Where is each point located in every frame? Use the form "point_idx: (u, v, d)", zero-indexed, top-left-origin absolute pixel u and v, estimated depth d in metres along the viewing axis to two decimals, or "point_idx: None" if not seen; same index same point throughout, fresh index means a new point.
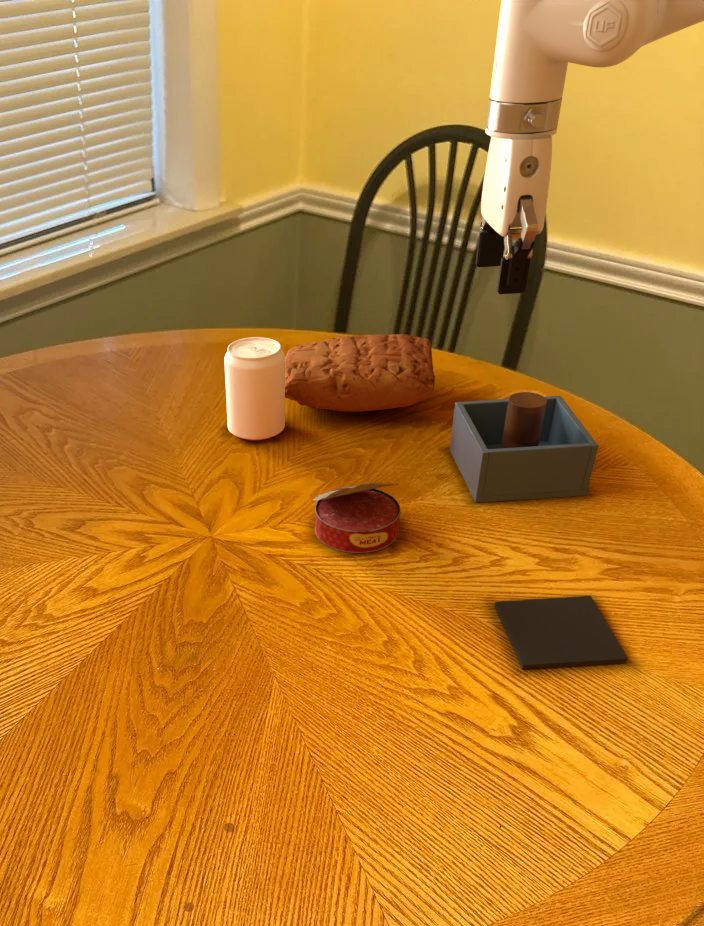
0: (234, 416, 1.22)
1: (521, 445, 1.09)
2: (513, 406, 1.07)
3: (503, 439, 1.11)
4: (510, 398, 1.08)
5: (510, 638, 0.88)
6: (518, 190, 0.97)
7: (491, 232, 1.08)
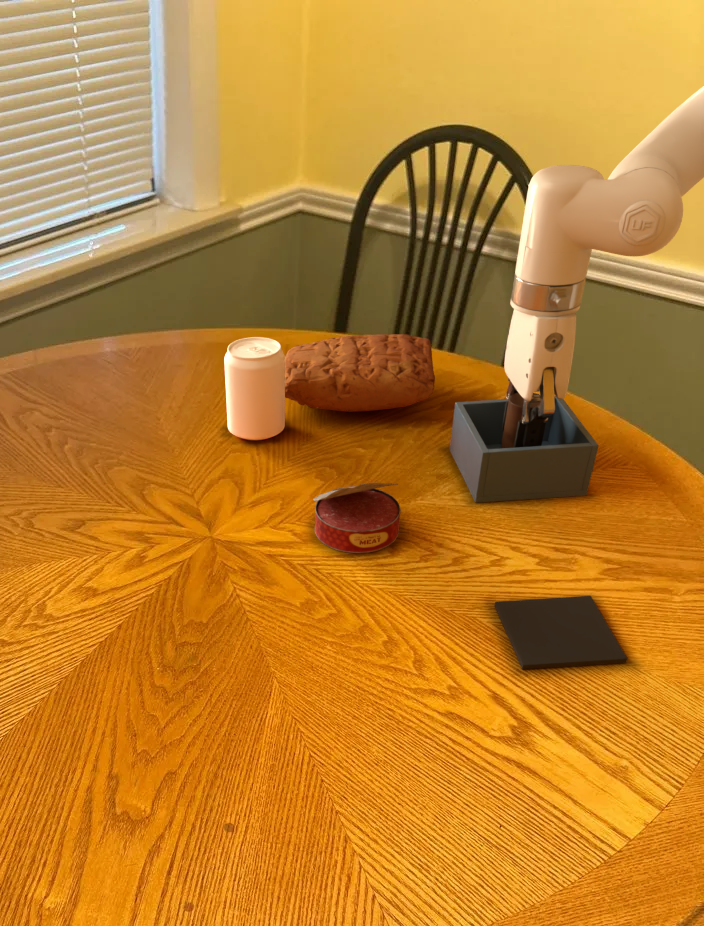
0: (234, 416, 1.22)
1: None
2: (513, 406, 1.07)
3: (503, 439, 1.11)
4: (510, 398, 1.08)
5: (510, 638, 0.88)
6: (543, 362, 0.99)
7: None
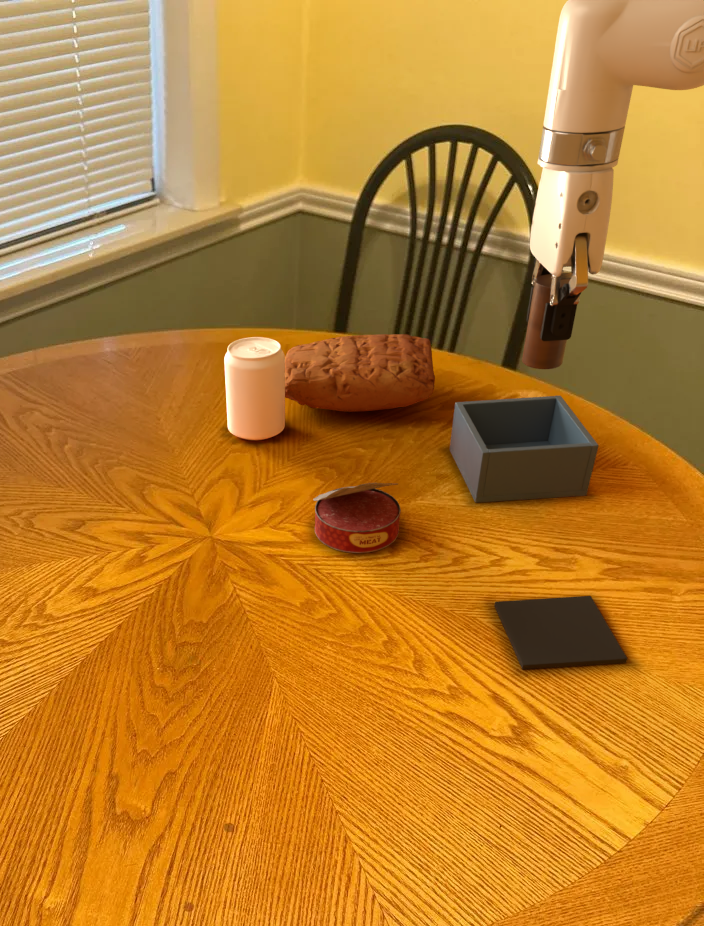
0: (234, 416, 1.22)
1: None
2: (540, 287, 0.95)
3: (528, 329, 0.99)
4: (536, 280, 0.96)
5: (510, 638, 0.88)
6: (575, 227, 0.88)
7: None
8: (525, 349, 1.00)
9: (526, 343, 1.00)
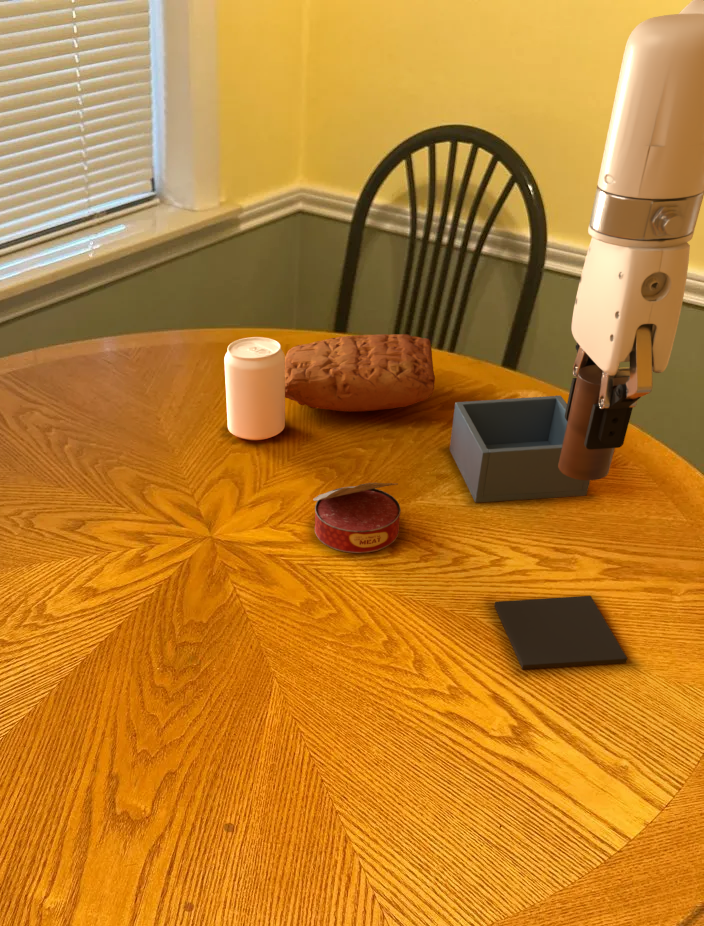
0: (234, 416, 1.22)
1: None
2: (586, 384, 0.75)
3: (568, 431, 0.79)
4: (580, 373, 0.76)
5: (510, 638, 0.88)
6: (637, 317, 0.68)
7: None
8: (563, 454, 0.81)
9: (564, 448, 0.80)
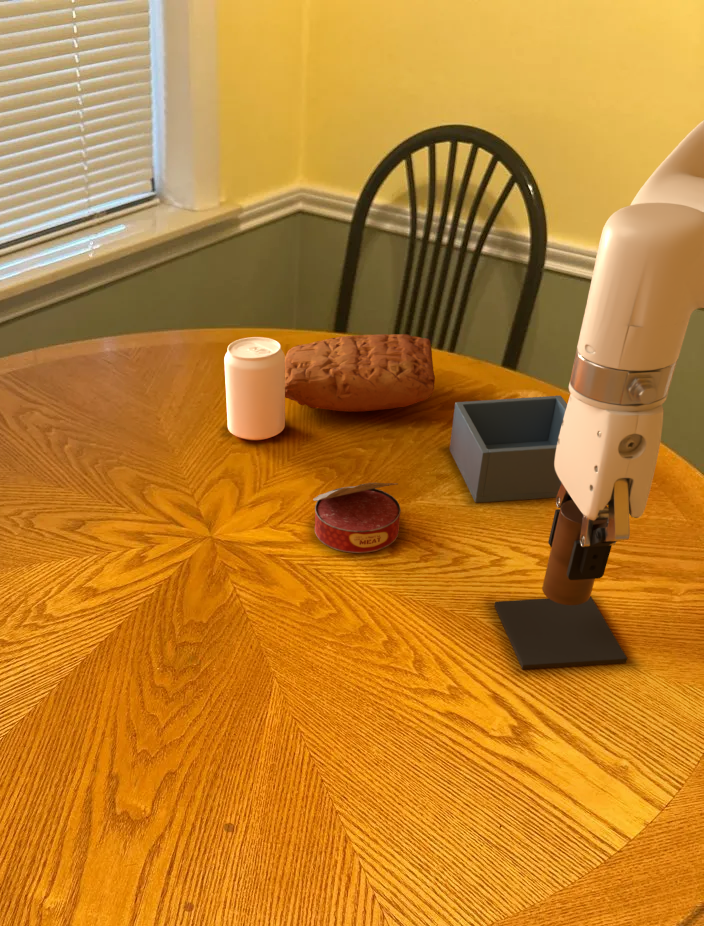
0: (234, 416, 1.22)
1: None
2: (568, 521, 0.79)
3: (551, 559, 0.83)
4: (562, 508, 0.80)
5: (510, 638, 0.88)
6: (615, 472, 0.72)
7: None
8: (547, 580, 0.85)
9: (548, 574, 0.84)
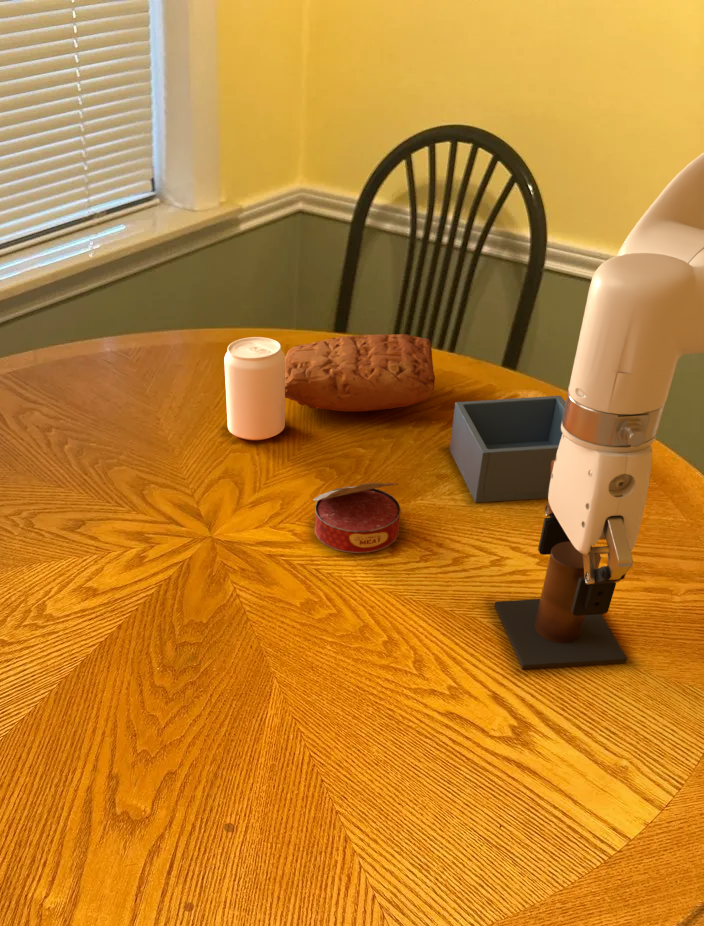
0: (234, 416, 1.22)
1: (566, 610, 0.84)
2: (558, 564, 0.82)
3: (542, 599, 0.86)
4: (553, 551, 0.83)
5: (510, 638, 0.88)
6: (605, 510, 0.74)
7: None
8: (538, 618, 0.88)
9: (540, 613, 0.87)
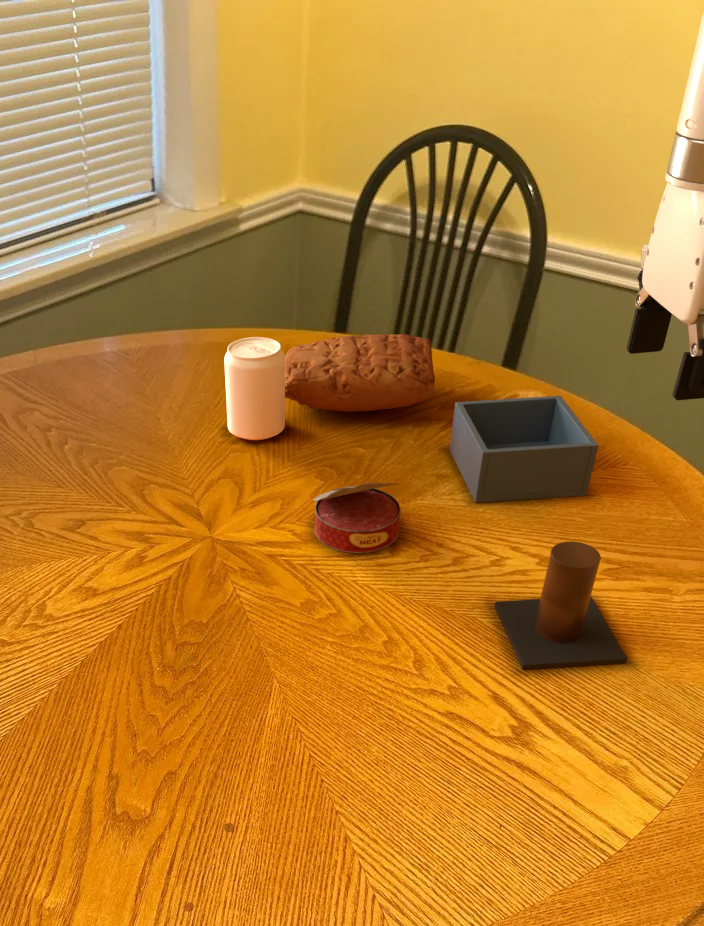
0: (234, 416, 1.22)
1: (566, 610, 0.84)
2: (558, 564, 0.82)
3: (542, 599, 0.86)
4: (553, 551, 0.83)
5: (510, 638, 0.88)
6: None
7: (652, 309, 0.80)
8: (538, 618, 0.88)
9: (540, 613, 0.87)
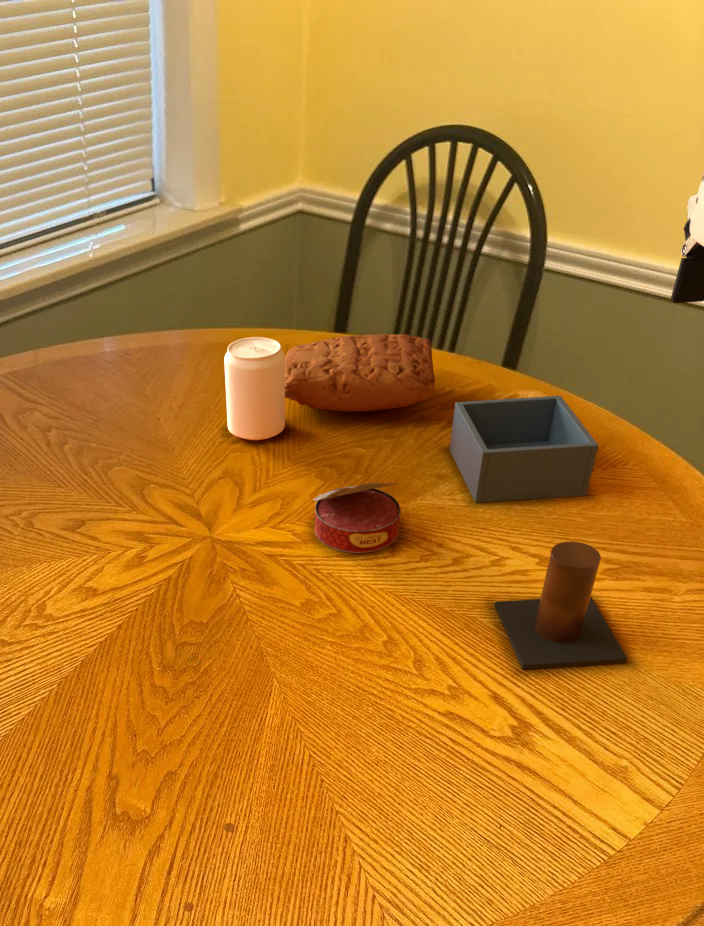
0: (234, 416, 1.22)
1: (566, 610, 0.84)
2: (558, 564, 0.82)
3: (542, 599, 0.86)
4: (553, 551, 0.83)
5: (510, 638, 0.88)
6: None
7: (698, 258, 0.82)
8: (538, 618, 0.88)
9: (540, 613, 0.87)
